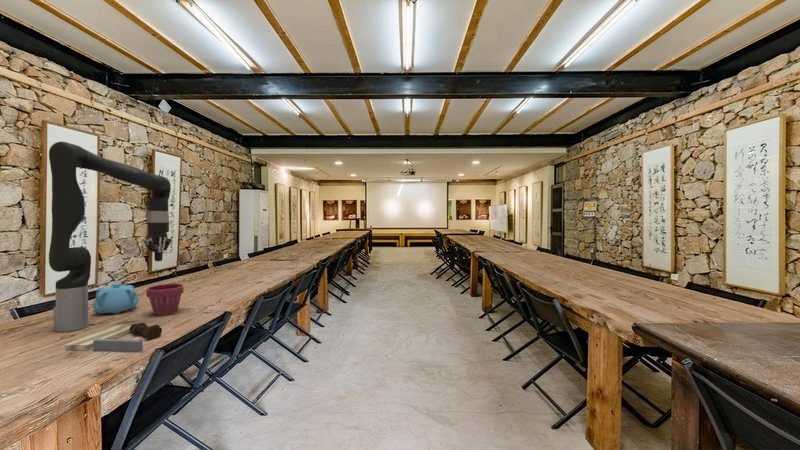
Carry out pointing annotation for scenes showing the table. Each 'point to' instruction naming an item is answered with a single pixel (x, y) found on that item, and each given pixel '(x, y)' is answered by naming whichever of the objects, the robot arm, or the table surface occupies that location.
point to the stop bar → (117, 345)
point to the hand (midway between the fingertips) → (158, 260)
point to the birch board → (99, 337)
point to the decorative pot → (115, 299)
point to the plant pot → (165, 298)
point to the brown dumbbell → (146, 330)
